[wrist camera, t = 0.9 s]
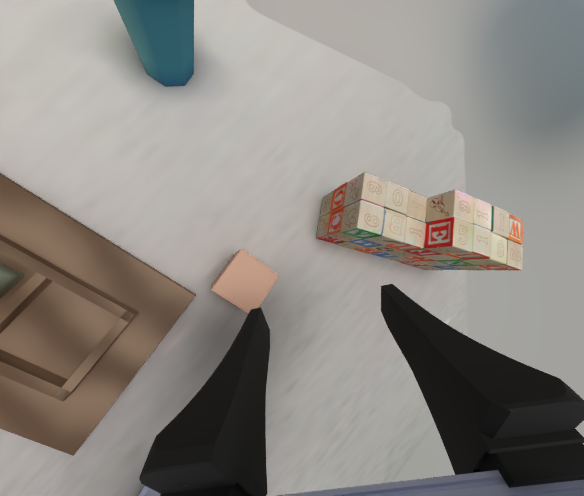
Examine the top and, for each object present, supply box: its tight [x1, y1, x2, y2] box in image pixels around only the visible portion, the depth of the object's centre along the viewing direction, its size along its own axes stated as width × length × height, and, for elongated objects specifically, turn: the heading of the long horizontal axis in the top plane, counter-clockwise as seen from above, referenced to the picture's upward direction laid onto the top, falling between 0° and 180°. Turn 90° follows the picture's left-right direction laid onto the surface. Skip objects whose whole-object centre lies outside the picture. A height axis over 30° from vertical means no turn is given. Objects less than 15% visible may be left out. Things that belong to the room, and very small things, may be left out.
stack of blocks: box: [316, 172, 523, 270], centre depth 28 cm, size 21×6×12 cm, turn 79°
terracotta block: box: [211, 249, 279, 314], centre depth 23 cm, size 4×4×6 cm
